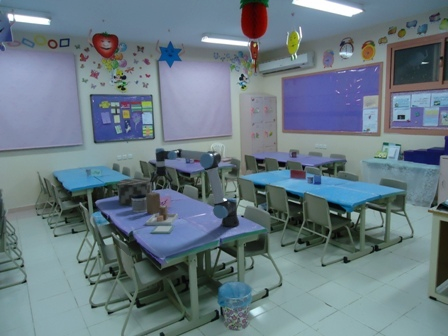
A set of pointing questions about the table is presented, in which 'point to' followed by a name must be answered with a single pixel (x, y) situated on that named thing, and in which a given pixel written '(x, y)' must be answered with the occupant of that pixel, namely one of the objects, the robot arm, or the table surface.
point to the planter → (139, 203)
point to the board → (162, 230)
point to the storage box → (132, 189)
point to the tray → (166, 222)
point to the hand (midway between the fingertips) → (162, 189)
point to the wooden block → (153, 202)
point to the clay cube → (160, 219)
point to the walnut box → (163, 212)
